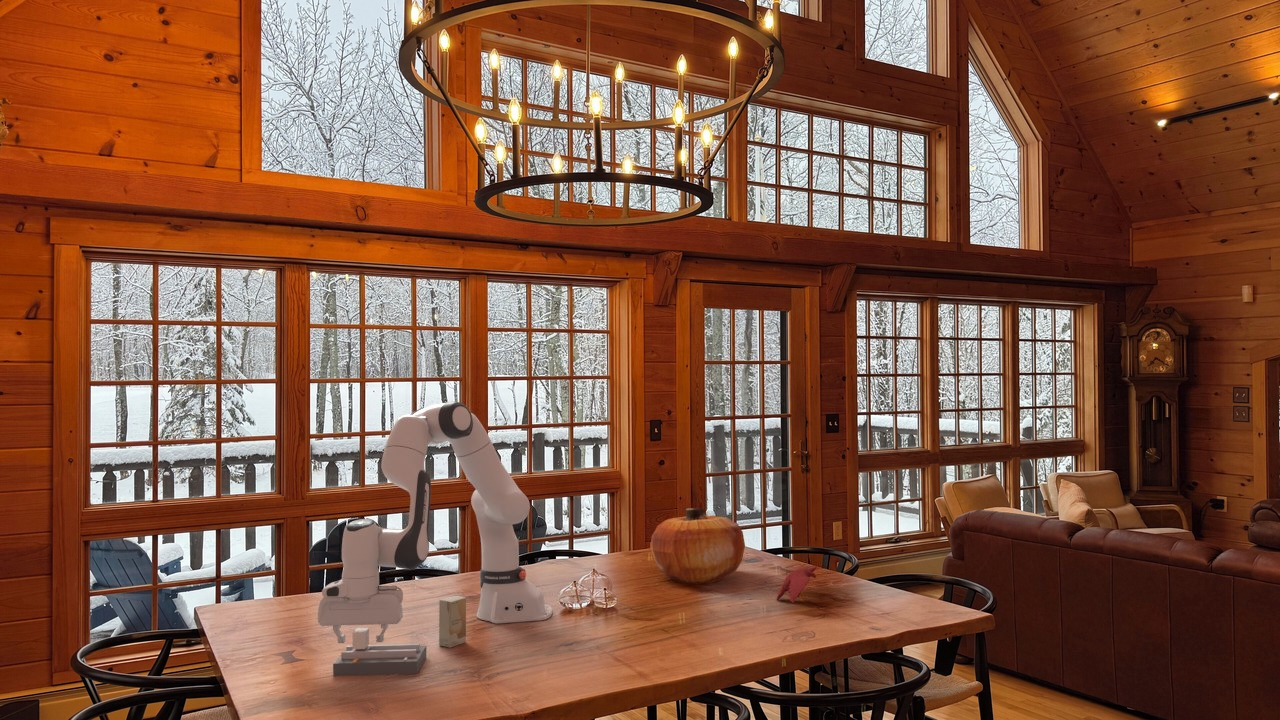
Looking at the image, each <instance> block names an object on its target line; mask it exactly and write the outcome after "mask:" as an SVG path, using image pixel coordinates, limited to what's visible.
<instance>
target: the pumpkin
mask: <svg viewBox="0 0 1280 720" xmlns="http://www.w3.org/2000/svg"><path fill="white" fill-rule="evenodd" d="M685 515H686V516H680V517H672V518H668V519H665V520H664V521H662V522H661V523H660V524H658V525H657V526H656V527H655V529H654V531H653V533H652V534H651V537H650V538H651V541H650V550H651V553H652V558H653V560H654V562H655V563H656V566H658V568H659V570H660V572H661V573H663V574H664V575H666V576H668V577H669V578H670V579H672V580H673V581H675V582H677V583H678V582H679V583H684V584H689V585H690V584H691V585H701V584H709V583H710V584H711V583H717V582H720V581H723V580H724V579H725V578H727V577H728V576H729V575H731V574H733V573H734V572H736V571H737V570H738V568H739V567H740V565H741V564H742V562H743V557H744V553H745V547H746V544H745V538H744V532H743V530H742V528H741V526H740V525H739V524H738V523H736V522H735V521H734V520H731V519H729V517H726V516H725V517H724V516H713V515H707V514H706V512H705V510H704V509H702V508H691V507H690V508H685Z"/></svg>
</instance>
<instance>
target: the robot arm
mask: <svg viewBox="0 0 1280 720" xmlns="http://www.w3.org/2000/svg"><path fill="white" fill-rule="evenodd" d="M445 442H449V443H450V445H451V447H452V449H453V450H452V451H454V455H455V457H456V459H457V461H458V462H459V465H460V467H461V470H462V471H463V473H464V475H465V477H466V479H467V481H468V482H469V483H470V484H471V485H472V486H473V488H474V491H473V492H472V494H471V499H470V500H471V501H470V503H471V506H472V509H473V511H474V514H475V517H476V522H477V526H478V531H479V536H480V543H481V545H480V546H481V569H480V570H479V571H480V572H479V586H480V588H481V589H480V597H479V599H480V600H479V603H478V609H477V613H476V617H477V618H478V619H479V620H483V621H487V622H490V623H493V624H507V623H508V624H509V623H518V622H519V623H521V622H531V621H532V622H533V621H534V622H536V621H543V620H547V619H549V618H550V617H551V616H552V615H553V614H552V613H553V609H552V607H551V606H550V605H548V604H546V603H545V598H544V595H543V592H542V590H541V589H539V588H538V587H537V586H535V585H534V584H533V583H531V582H530V581H529V580H527V579H526V577H527V572H526V569H525V567H523V568H522V567H521V566H519V563H520V557H519V555H520V553H519V549H520V547H519V540H518V537H517V535H516V533H515V529H514V526H513V525H517V524H520V523H522V522H524V520H526V518H527V517H528V515H529V513H530V510H531V509H530V508H531V506H530V505H531V503H530V501H529V498H528V497H527V496H526V494H525V493H523V491H522V490H521V489H520V488H519V485H517V483H516V482H515V480H514V479H513V477H512V476H511V475H510V473H509V472H508V470H507V469H506V468H505V466H504V464H503V462H502V461H501V459H500V456H499V455H498V453H497V451H496V448H495V447H494V445H493V442H492V440H491V438H490V437H489V434H488V432H487V431H486V428H485V427H484V426H483V424H482V423H481V421H480V420H479V418H478V417H477V416H476V414H475V413H472V412H471V411H470V409H469V408H468V406H467V405H465V404H464V403H463V402H459V401H448V402H447V401H446V402H444V403H443V402H441V403H436V404H435V403H434V404H432V405H429V406H427V407H424V408H422V409H420V408H419V409H416V410H414V411H413V412H411V413H409V414H404V415H402V416H400V417H399V418H397V419H396V421H395V422H394V425H393V426H392V429H391V431H390V434H389V436H388V438H387V441H386V444H385V448H384V451H383V454H382V458H381V472H382V474H383V475H384V477H385V478H386V479H387V480H388V481H389V482H390V483H392V484H393V485H394V486H397V487H399V488H400V489H402V490H405V491H406V492H408V494H409V496H410V503H409V513H408V515H409V516H408V525H407V526H406V527H405V528H404V529H402V528H401V529H399V528H387V527H386V528H385V527H381V526H379V525H377V522H376V521H375V520H374V519H370V518H361V519H355V520H353V521H351V522H349V523H347V524H346V525H345V526H344V530H343V535H342V543H341V560H342V565H343V567H342V568H343V569H342V573H341V579H339V580H336V581H332V582H330V583H329V584H327V585H326V586H324V588H323V589H322V590H321V596H322V597H323V598H321V599H320V601H319V604H318V610H317V623H318V624H319V625H320V626H321V627H329V626H330V627H331V626H332V630H333V633H334V634H335V636H336V637H337V644H345V643H346V634H345V633H344V634H342V632H341V629H340V628H341V627H342V626H364V625H365V626H369V625H373V626H374V625H380V629H381V630H382V631H381V632H380V633H377V634H376V635H375V640H376V643H383V642H384V640H385V633H386V631H387V630H388V628H389V625H398V624H399V623H400V622H401V621H402V619H403V617H404V615H403V614H404V613H403V611H404V610H403V603H402V602H403V600H404V592H403V590H402V588H400V587H399V586H397V585H380V570H379V567H383V568H384V567H385V568H398V569H404V570H409V571H412V570H416V569H418V568H419V567H420V566H421V565H422V564H423V563H424V562H426V560H427V558H428V556H429V551H430V542H429V525H430V515H431V513H430V511H431V499H432V497H431V495H432V481H431V477H430V475H429V473H428V472H426V470H425V460H426V457H427V452H428V446H429V445H437V444H443V443H445Z"/></svg>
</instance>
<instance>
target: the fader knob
mask: <svg viewBox="0 0 1280 720" xmlns="http://www.w3.org/2000/svg"><path fill="white" fill-rule="evenodd" d="M351 636H352V646H353V650H352V651H369V650H370V647H367V646H368V645H370V628H369V627H359V628H358V627H356V628H355V630H354V631H352V635H351Z"/></svg>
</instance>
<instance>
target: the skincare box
mask: <svg viewBox="0 0 1280 720" xmlns="http://www.w3.org/2000/svg"><path fill="white" fill-rule="evenodd" d="M438 604H439V606H438V608H439V611H438V613H439V615H438V617H439V618H438V619H439V620H438V621H439V623H438V625H439V626H438V627H439V629H438V646H442V647H446V648H453V647H456V646H460V645H462V644H465V643H466V642H467V597H465V596H461V595H460V596H459V595H453V596H449V597H445V598H441V599H439V603H438Z"/></svg>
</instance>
